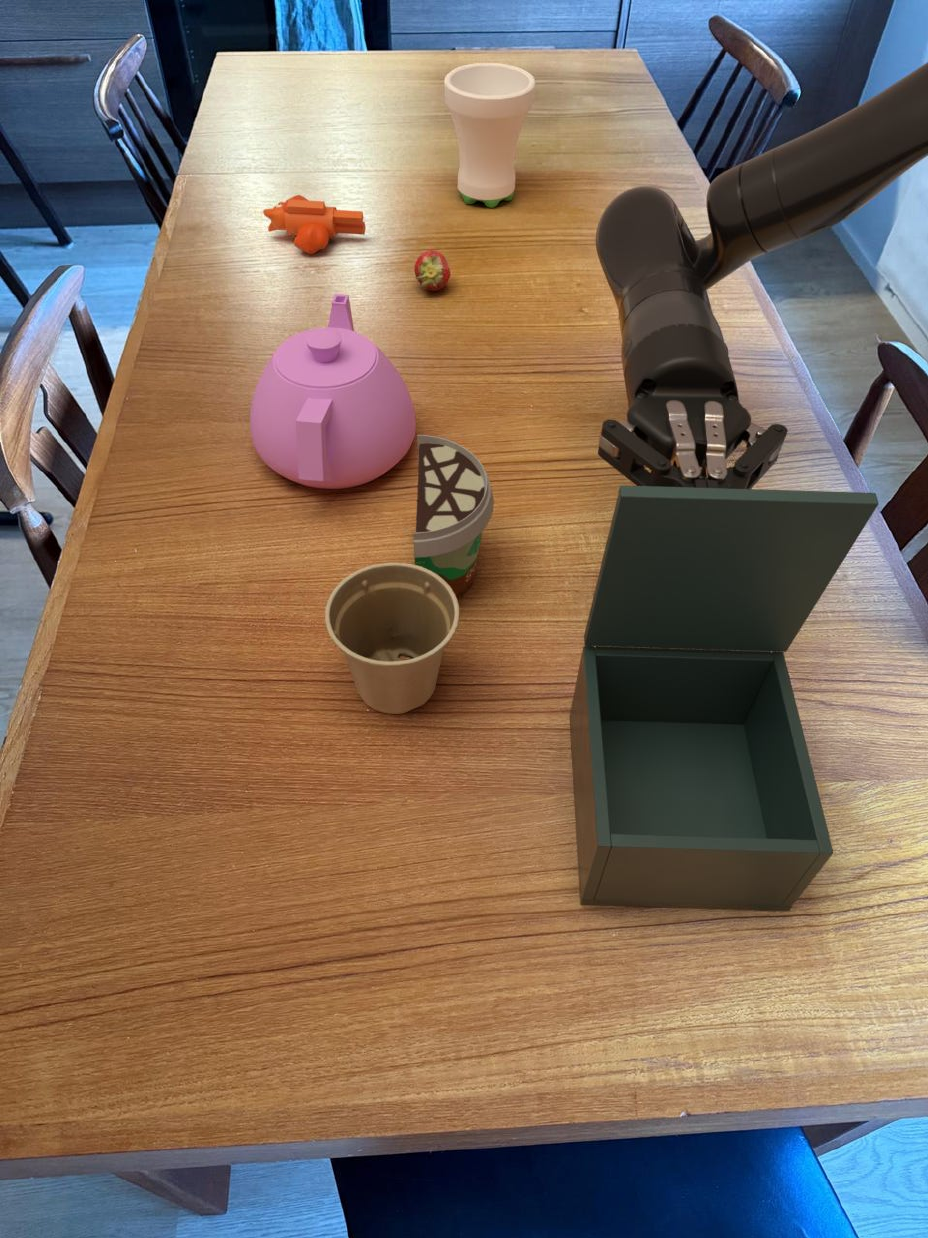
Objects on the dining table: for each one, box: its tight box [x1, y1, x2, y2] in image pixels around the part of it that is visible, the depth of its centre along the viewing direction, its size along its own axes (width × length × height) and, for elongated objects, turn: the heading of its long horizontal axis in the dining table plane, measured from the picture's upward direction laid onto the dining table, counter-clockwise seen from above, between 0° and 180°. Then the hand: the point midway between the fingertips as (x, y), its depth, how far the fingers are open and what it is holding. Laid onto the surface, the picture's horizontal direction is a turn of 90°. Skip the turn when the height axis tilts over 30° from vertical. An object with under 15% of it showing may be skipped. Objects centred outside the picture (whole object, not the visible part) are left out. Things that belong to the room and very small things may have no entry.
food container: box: [412, 434, 495, 600], centre depth 73 cm, size 12×6×10 cm, turn 0°
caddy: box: [569, 645, 834, 912], centre depth 60 cm, size 15×14×9 cm
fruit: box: [413, 249, 451, 292], centre depth 104 cm, size 4×6×5 cm
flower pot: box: [324, 561, 460, 715], centre depth 66 cm, size 9×9×9 cm
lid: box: [583, 485, 879, 653], centre depth 54 cm, size 16×14×1 cm
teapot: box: [249, 293, 417, 490], centre depth 82 cm, size 22×16×12 cm
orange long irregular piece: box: [262, 194, 366, 255], centre depth 110 cm, size 5×8×12 cm
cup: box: [443, 62, 536, 209], centre depth 115 cm, size 11×11×14 cm
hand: (710, 533), depth 55 cm, fingers closed
